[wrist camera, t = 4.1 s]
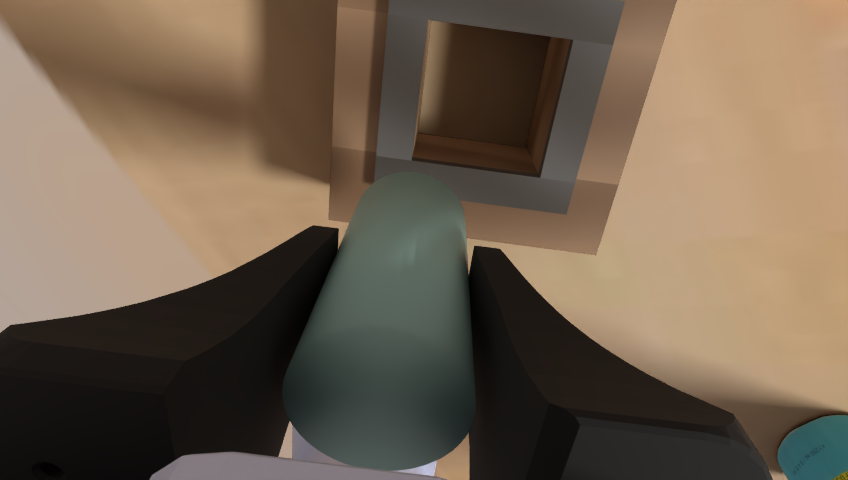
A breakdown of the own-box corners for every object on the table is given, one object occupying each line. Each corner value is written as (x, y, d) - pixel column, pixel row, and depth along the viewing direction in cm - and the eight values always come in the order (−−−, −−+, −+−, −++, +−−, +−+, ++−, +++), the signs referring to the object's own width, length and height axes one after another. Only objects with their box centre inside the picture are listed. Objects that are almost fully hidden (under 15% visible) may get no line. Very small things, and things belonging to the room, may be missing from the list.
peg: (454, 279, 15) (456, 482, 9) (349, 262, 15) (279, 456, 9) (475, 181, 14) (496, 344, 8) (360, 162, 14) (285, 310, 8)
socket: (576, 219, 22) (598, 260, 18) (344, 188, 21) (326, 224, 18) (653, -47, 17) (700, -55, 14) (360, -88, 17) (339, -106, 14)
